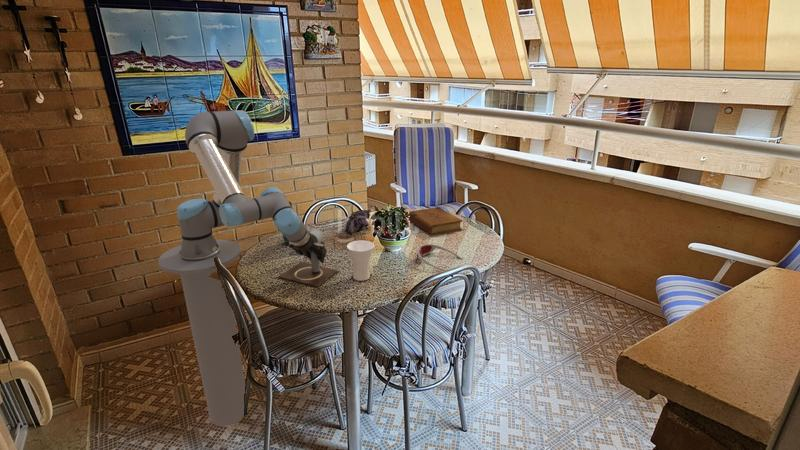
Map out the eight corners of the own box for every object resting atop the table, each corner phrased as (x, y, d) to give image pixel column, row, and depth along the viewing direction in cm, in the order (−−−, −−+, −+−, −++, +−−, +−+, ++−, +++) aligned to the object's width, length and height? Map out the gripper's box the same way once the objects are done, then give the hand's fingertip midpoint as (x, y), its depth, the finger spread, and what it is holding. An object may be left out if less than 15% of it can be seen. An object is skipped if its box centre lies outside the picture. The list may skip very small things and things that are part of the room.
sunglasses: (425, 249, 185) (428, 239, 183) (460, 263, 179) (462, 253, 177) (408, 263, 171) (410, 253, 169) (445, 279, 165) (447, 268, 163)
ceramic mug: (325, 243, 192) (323, 227, 189) (318, 250, 184) (317, 234, 182) (304, 241, 194) (302, 226, 191) (296, 248, 186) (295, 232, 184)
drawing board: (279, 277, 160) (278, 276, 159) (301, 263, 172) (301, 262, 171) (317, 287, 153) (317, 285, 152) (337, 271, 165) (337, 270, 164)
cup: (360, 268, 167) (359, 238, 163) (380, 275, 162) (379, 244, 157) (342, 278, 159) (341, 246, 155) (363, 286, 154) (362, 253, 149)
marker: (309, 273, 162) (307, 245, 158) (314, 269, 165) (312, 242, 161) (317, 274, 161) (314, 246, 156) (321, 271, 164) (320, 243, 159)
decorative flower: (343, 207, 211) (370, 201, 208) (351, 225, 217) (378, 219, 214) (338, 224, 199) (366, 217, 196) (347, 242, 206) (375, 236, 202)
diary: (408, 221, 220) (408, 211, 218) (438, 216, 228) (438, 206, 226) (430, 236, 201) (430, 225, 199) (461, 230, 209) (462, 219, 207)
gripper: (275, 245, 143) (297, 267, 165) (320, 248, 141) (336, 269, 163) (280, 226, 147) (301, 249, 168) (324, 228, 144) (339, 252, 166)
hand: (318, 259), depth 165 cm, fingers closed on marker, 3 cm apart
